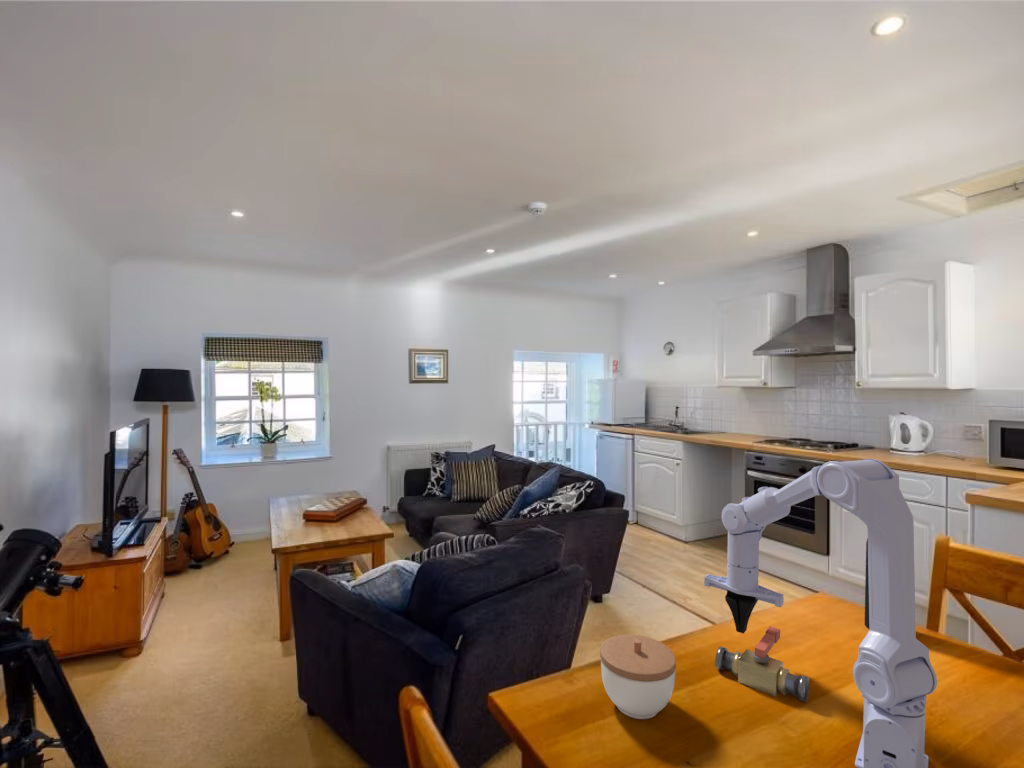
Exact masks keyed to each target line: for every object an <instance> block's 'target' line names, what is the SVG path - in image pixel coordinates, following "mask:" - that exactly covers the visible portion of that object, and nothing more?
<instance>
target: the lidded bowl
mask: <svg viewBox="0 0 1024 768" xmlns="http://www.w3.org/2000/svg"><path fill="white" fill-rule="evenodd" d="M599 648H600V649H599V652H600V653H599V657H600V671H601V672H600V673H601V679H602V683H603V686H604V689H605V693H606V694H607V696H608V698H610V700H611V701H612V702H613V704H614V705H615V706H616V708H617V709H618V711H620V712H621V713H622V714H623V715H625V716H627V717H629V718H632V719H635V720H648V719H651V718H654V717H656V716H657V714H658V713H659V712H660V711H662V710H663V709H664V708H666V706H667V705H668V703H669V702H670V700H671V698H672V695H673V691H674V689H675V682H676V681H675V680H676V679H675V678H676V669H677V658H676V657H677V656H676V655H675V653H674V652H673V650H672V649H671V648H670V647H669V646H668V645H666V643H665V644H664V643H663V642H661V641H660V640H658V639H656V638H652V637H651V636H645V635H640V634H633V633H632V634H631V633H630V634H629V633H628V634H627V633H626V634H625V633H624V634H618V635H614V636H611V637H609V638H607V639H605V640H604V641H603V642H602V643H601V645H600V647H599Z"/></svg>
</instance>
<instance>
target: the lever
mask: <svg viewBox="0 0 1024 768" xmlns="http://www.w3.org/2000/svg"><path fill="white" fill-rule="evenodd" d="M780 639H781V629H780V628H777V627H774V626H768V627H767V629H766V630H765V633H764V635H763V636H762V638H761V639H760V640H759V641H758V643H757V644H756V646H755V647H754V651H753V659H754V660H756V661H757V662H760V663H768V662H769V657H770V656H769V652H770V651H771V650H772V648H773V647H774V645H775V644H777V643H778V641H779V640H780Z"/></svg>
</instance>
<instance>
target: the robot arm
mask: <svg viewBox="0 0 1024 768" xmlns="http://www.w3.org/2000/svg"><path fill="white" fill-rule="evenodd" d="M757 491H758V492H757V493H756V494H753V495H751V496H745V497H743V498H741V502H740V503H732V502H731V503H727V504H726V505H725V506H724V507H723V509H722V510H721V511H722V512H721V522H722V524H723V526H724V528H725V530H726V531H727V551H726V553H727V555H726V557H727V558H726V562H727V563H726V576H719V575H714V574H710V573H707V574H706V575H705V576H704V578H703V585H704V587H707V588H710V587H712V588H715V589H719V590H723V591H726V595H725V596H724V599H725V602H726V604H727V605H728V607H729V609H730V613H731V614H732V617H733V622H734V625H735V630H736V632H737V633H740V634H745V633H746V631H747V629H748V623H749V620H750V617H751V615H752V613H753V610H754V608H755V606H756V605H757V603H758V601H762V602H766V603H768V604H772V605H774V607H777V608H782V607H783V605H784V598H785V597H784V596H785V595H784V593H780V592H777V591H774V590H773V589H770V588H767V587H764V586H762V585H759V571H760V570H759V564H760V563H759V562H760V561H759V560H760V558H759V557H760V541H761V539H762V536H763V535H762V534H763V531H764V530H765V529H766V527H767V525H768V526H769V525H770V524H772V523H774V522H776V521H779V520H781V519H783V518H785V517H787V516H788V515H790V512H791V507H792V506H794V505H797V504H799V503H801V502H804V501H806V500H808V499H811V498H813V497H816V496H820V497H821V496H824V497H825V498H826V499H828V500H829V501H831V502H833V504H836V505H837V506H839V507H840V508H842V509H844V510H846V511H848V513H851V514H853V515H854V516H856V517H857V518H858V519H860V520H861V521H862V523H864V524H865V525H866V527H867V538H868V575H869V629H868V632H867V634H866V635H865V636H864V638H863V640H862V641H861V643H860V644H859V646H858V657H857V659H856V661H855V662H854V664H853V667H852V677H853V680H854V683H855V685H856V687H857V688H858V689H857V690H859V692H860V694H861V697H862V698H863V719H862V721H863V724H862V735H861V737H860V741H859V745H858V750H857V753H856V756H855V761H854V766H855V767H856V768H929V758H930V757H929V756H928V755H927V754H926V753H925V744H926V742H925V741H926V739H925V738H926V733H925V732H926V704H927V696H928V695H930V694H931V695H932V694H933V693H934V692H935V690H936V689H937V687H938V678H937V673H936V671H935V669H934V667H933V665H932V662H931V659H930V649H929V648H928V647H927V646H926V645H925V644H924V643H922V642H921V641H919V640H918V639H917V636H916V633H917V632H916V631H917V629H916V627H917V626H916V624H917V623H916V586H915V583H916V581H915V579H916V578H915V573H916V572H915V538H914V536H915V535H914V534H915V533H914V531H915V530H914V529H915V528H914V516H913V513H912V511H911V509H910V507H909V505H908V503H907V501H906V499H905V497H904V494H903V493H902V491H901V488H900V475H899V474H898V473H896V472H895V471H894V470H893V469H892V468H890V467H889V465H888V464H886V463H885V462H883V461H881V460H878V459H876V458H864V459H859V460H844V461H837V460H835V461H834V460H832V461H827V462H825V463H823V464H822V465H818V466H813V467H812V469H811V470H809V471H807V472H806V473H805V474H803V475H801V476H799V477H797V478H796V479H794V480H793V481H791V482H789V483H788V484H785V486H782V487H781V488H777V487H773V486H769V487H768V486H761V487H759V488H758V489H757Z"/></svg>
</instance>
